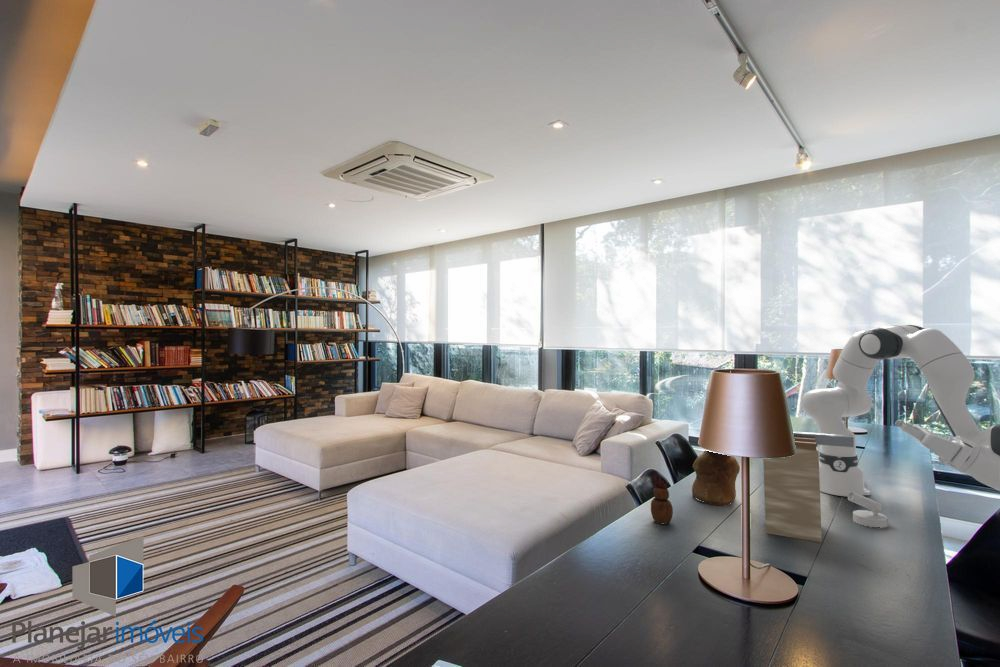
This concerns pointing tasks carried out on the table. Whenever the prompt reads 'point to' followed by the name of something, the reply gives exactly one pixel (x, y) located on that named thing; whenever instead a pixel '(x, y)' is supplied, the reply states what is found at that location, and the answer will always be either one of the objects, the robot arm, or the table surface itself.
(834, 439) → the bracket
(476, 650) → the table surface
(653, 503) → the wooden figurine
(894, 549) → the table surface
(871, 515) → the wall hook
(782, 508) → the stand
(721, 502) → the ceramic vessel
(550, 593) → the table surface
